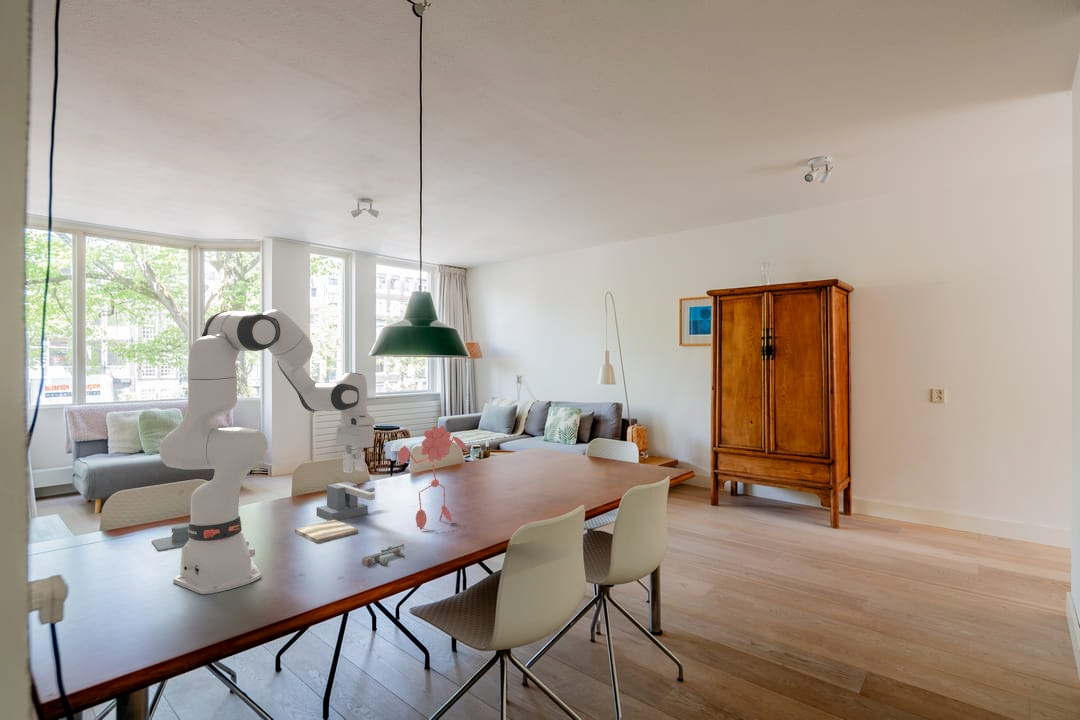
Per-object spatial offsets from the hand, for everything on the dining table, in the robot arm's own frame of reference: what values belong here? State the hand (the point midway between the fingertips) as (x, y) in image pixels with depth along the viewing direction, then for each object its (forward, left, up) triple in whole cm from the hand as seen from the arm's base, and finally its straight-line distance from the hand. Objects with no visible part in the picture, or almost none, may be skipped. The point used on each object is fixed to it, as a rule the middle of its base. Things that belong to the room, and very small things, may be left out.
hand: (353, 458), depth 184 cm
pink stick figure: (-25, -17, -23) cm, 39 cm away
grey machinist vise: (+7, -6, -23) cm, 25 cm away
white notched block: (0, 0, -5) cm, 5 cm away
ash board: (-1, +11, -23) cm, 26 cm away
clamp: (-37, +10, -24) cm, 45 cm away
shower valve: (+25, +45, -24) cm, 56 cm away
